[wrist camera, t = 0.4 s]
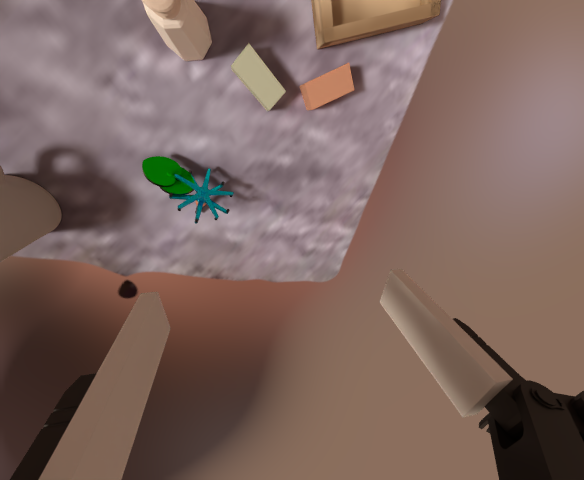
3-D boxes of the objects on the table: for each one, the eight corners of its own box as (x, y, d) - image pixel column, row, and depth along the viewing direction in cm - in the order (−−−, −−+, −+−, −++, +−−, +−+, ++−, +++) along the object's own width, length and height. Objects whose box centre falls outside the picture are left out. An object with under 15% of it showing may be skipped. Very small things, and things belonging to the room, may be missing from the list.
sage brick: (232, 70, 27) (231, 65, 25) (248, 49, 27) (248, 43, 24) (266, 110, 30) (269, 110, 28) (282, 93, 30) (285, 91, 27)
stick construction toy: (243, 186, 32) (219, 227, 28) (231, 208, 38) (209, 244, 34) (162, 136, 29) (121, 174, 25) (162, 168, 34) (129, 203, 30)
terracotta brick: (306, 110, 31) (312, 109, 29) (299, 86, 30) (304, 83, 27) (345, 92, 31) (354, 90, 28) (339, 66, 29) (349, 62, 27)
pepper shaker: (184, 72, 26) (152, 50, 17) (148, 16, 24) (87, -48, 14) (222, 47, 26) (210, 10, 17) (190, -14, 23) (154, -100, 14)
